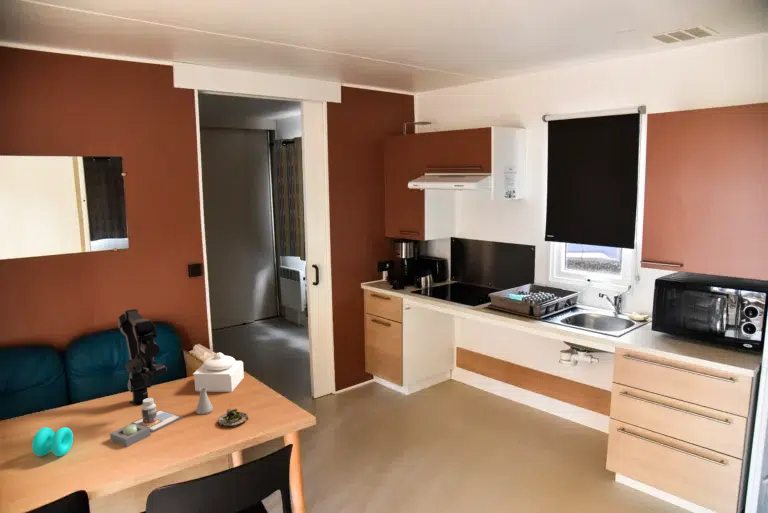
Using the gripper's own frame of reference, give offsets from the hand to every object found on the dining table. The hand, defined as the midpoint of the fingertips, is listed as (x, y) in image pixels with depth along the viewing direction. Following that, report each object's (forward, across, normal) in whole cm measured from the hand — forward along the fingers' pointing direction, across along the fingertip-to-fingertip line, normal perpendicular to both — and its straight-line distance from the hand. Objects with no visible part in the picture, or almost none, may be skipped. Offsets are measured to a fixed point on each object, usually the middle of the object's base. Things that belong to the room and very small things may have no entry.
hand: (148, 385), depth 224 cm
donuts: (+13, -2, -38) cm, 40 cm away
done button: (+12, +12, -17) cm, 24 cm away
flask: (+13, +18, +13) cm, 26 cm away
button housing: (+12, +12, -17) cm, 24 cm away
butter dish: (+13, +1, +37) cm, 39 cm away
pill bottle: (+12, +8, -6) cm, 16 cm away
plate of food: (+12, +36, +12) cm, 40 cm away
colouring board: (+12, +8, -3) cm, 15 cm away
